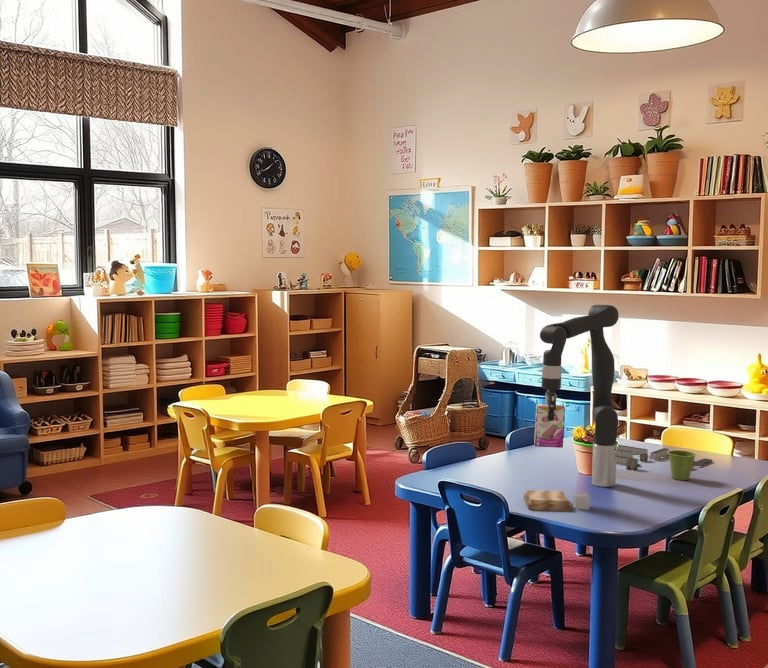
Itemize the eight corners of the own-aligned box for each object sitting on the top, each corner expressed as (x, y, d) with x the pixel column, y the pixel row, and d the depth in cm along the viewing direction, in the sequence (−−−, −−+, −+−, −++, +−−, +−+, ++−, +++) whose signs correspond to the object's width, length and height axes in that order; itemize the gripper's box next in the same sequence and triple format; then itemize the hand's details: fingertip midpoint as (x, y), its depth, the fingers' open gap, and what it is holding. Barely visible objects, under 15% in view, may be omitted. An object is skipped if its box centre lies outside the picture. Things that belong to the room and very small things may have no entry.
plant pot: (671, 481, 377) (672, 455, 376) (663, 475, 389) (664, 449, 388) (699, 482, 376) (700, 456, 376) (690, 475, 388) (691, 450, 387)
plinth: (564, 499, 347) (564, 490, 347) (571, 510, 331) (571, 501, 331) (523, 498, 348) (523, 489, 347) (528, 509, 332) (528, 500, 331)
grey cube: (586, 506, 338) (587, 493, 338) (589, 509, 333) (589, 496, 333) (573, 505, 338) (573, 492, 338) (575, 509, 333) (576, 496, 333)
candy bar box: (534, 446, 349) (536, 405, 348) (534, 444, 354) (535, 403, 353) (563, 448, 348) (565, 406, 347) (562, 445, 353) (564, 404, 352)
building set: (580, 462, 414) (581, 451, 413) (624, 448, 445) (624, 438, 445) (673, 478, 384) (673, 467, 383) (712, 462, 415) (712, 452, 415)
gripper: (563, 379, 341) (562, 422, 343) (558, 374, 356) (556, 416, 357) (544, 378, 342) (542, 422, 343) (539, 374, 356) (538, 415, 357)
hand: (549, 419), depth 350 cm, fingers closed on candy bar box, 5 cm apart
